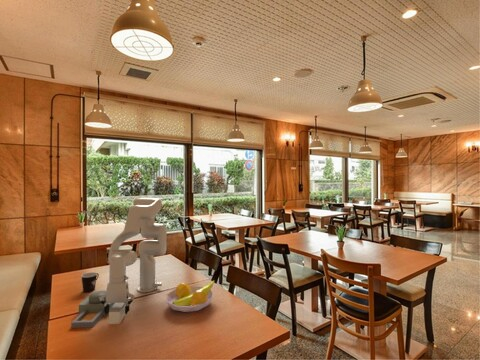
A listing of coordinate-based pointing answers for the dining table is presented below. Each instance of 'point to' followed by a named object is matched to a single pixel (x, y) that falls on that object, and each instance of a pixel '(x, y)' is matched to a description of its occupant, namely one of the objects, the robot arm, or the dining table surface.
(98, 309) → the domed grey panel
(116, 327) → the dining table surface
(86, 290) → the coffee mug
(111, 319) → the grey bevelled box
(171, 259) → the dining table surface
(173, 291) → the fruit bowl
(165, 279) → the dining table surface
